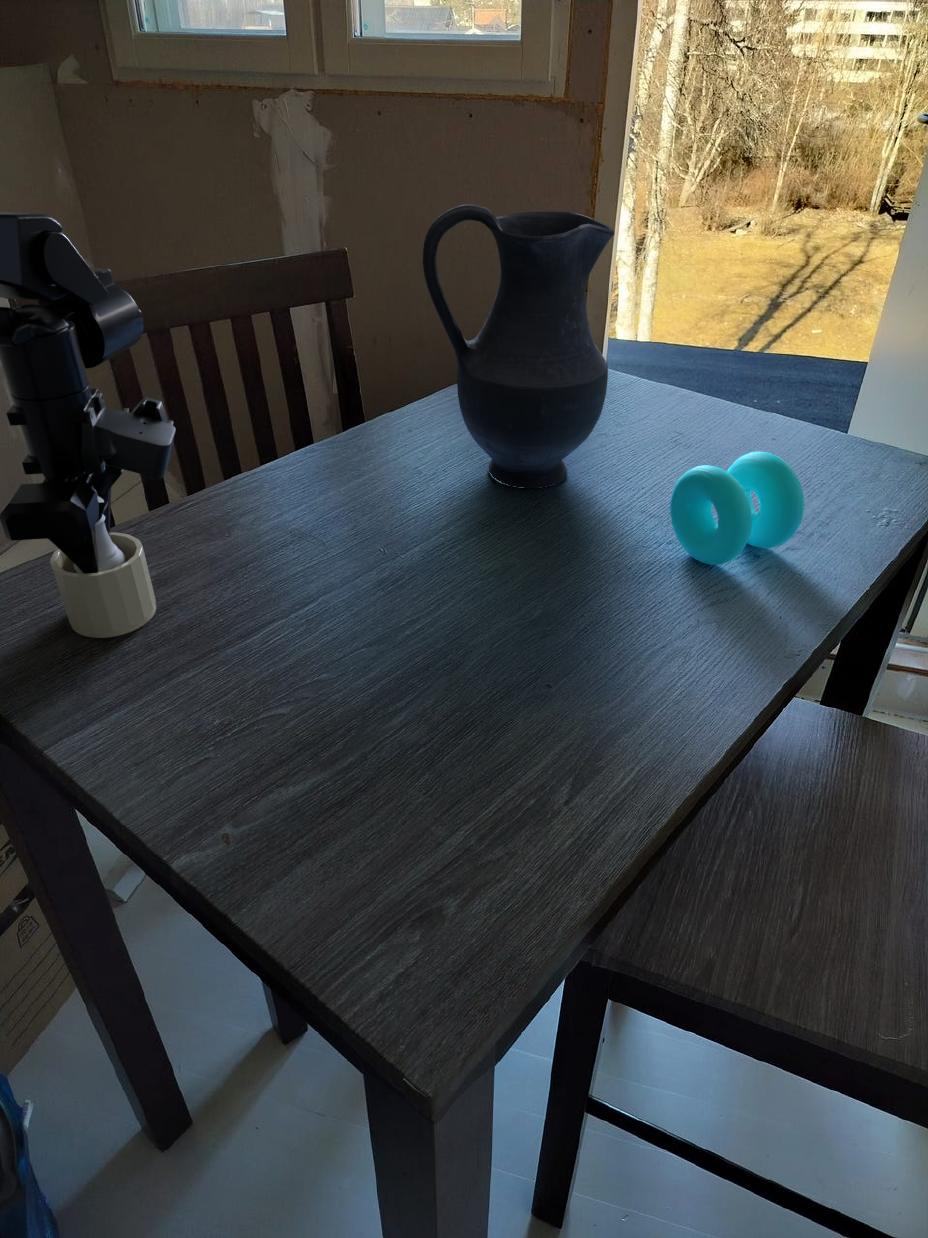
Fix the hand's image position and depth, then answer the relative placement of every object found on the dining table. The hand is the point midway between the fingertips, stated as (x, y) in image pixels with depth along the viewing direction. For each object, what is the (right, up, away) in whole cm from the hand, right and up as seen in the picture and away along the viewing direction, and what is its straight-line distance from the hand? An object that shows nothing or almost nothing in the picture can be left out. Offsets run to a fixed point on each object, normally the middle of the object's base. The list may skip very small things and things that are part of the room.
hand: (97, 559), depth 75 cm
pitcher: (+38, +12, +29) cm, 49 cm away
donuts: (+60, +2, +14) cm, 61 cm away
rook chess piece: (0, -1, +1) cm, 2 cm away
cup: (0, -5, +3) cm, 6 cm away
